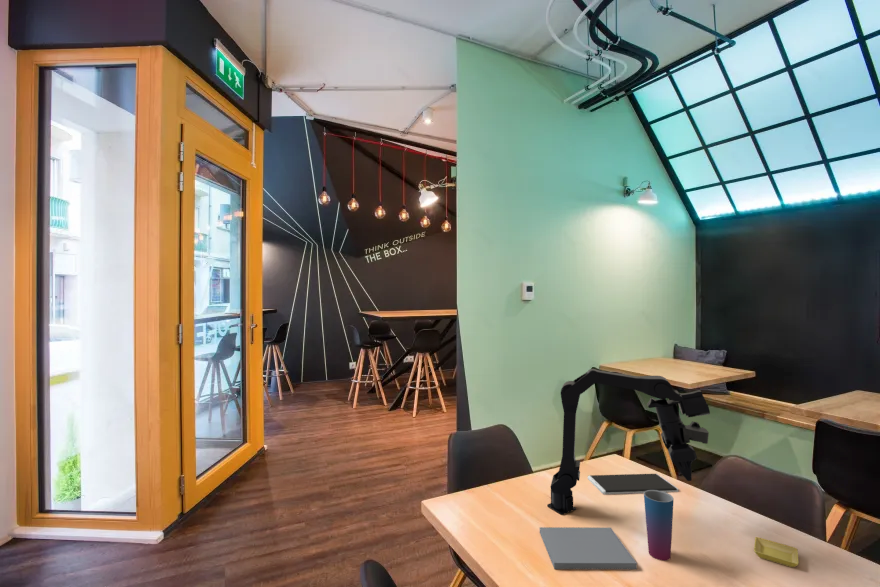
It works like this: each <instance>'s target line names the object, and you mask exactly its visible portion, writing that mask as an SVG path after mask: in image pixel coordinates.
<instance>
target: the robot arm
mask: <svg viewBox="0 0 880 587" xmlns="http://www.w3.org/2000/svg"><path fill="white" fill-rule="evenodd" d="M595 384H597V385H598V384H599V385H605V386H610V387H617V388H622V389H627V390H632V391H638V392H641V393H643V394H645V395H648V396H649V397H650V398H649V400H648V402H647V403H646V406H647V407H648V408H649V409H652V408H654V409H655V411H656V416H657V419H658V421H659V422H658V423H659V426H660V428H661V434H660V438H661V440H662V442H663V445H664V447H665V448H666V450H667V451H668V455H669V457H670V459H671V462H672V463H673V464H674V466H676V468H677V469H678V471H679V472H680V473H681V475H682V476H683V477H684V478H685V480H686V481H687V482H690V481H692V478H693V477H692V463H693V462H694V461H696V459H698V457H697V453H696V450H695V449H694V447H693V446H691V445H690V444H689V443H691V441H693V442H699V443H702V444H705V445H708V444H709V435H710V434H709V433H710V432H709V431H708V429H706V428H705V427H701V425H700V423H699V422H697V421H691V422H690V423H689V424H687V425H686V424H684V423H683V420H682V418H681V415H685V417H687V418H693V417H700V416H708V415H710V414H711V412H710V408H709V405H708V403H707V401H706V399H705V397H704V395H703V392H702V391H701V390H700V389H698V390H694V391H690V392H684V393H680V392H679V391H678V390H677V389H675V388H673V386H672V384H671V383H670V382H669V380H667V378H666V377H664V376H662V375H642V376H641V375H640V376H639V375H630V374H625V373H618V372H612V371H605V370H599V369H596V368H590V369H588V370H587V371H586V372H585V373H583V374H582V375H580V376H578V377H577V378H575V379H574V380H568V381H566V382H564V383H563V384H562V387H561V389H560V398H561V399H560V400H561V405H562V409H563V428H562V455H561V456H562V457H561V460H560V464H559V469H558V471H557V472H556V473H555V474H554V475H553V476H552V479H551V483H550V503H548V504H546V505H547V507H548V508H550V509H551V510H553V511H555V512H556V513H557V514H560V515H561V516H562V515H565V514H568V513H572V512H573V511H574V512H575V511H576V510H577V507H576V506H574V495H573V490H572V489H573V488H574V487H576V486H577V481H579V482H580V477H581V476H580V475H581V471H580V468H581V467H580V466H581V460H577V459H576V453H575V452H576V429H577V428H576V425H577V410H578V405H579V401H580V396H581V395H582V394H584V393H585V392H587V390H589V389H590V388H591V387H593V385H595ZM655 398H656V399H655ZM667 399H669V400H667ZM677 404H678V405H677ZM678 408H679V409H678ZM679 410H680V411H679ZM680 413H681V414H680Z"/></svg>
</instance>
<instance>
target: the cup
mask: <svg viewBox="0 0 880 587" xmlns="http://www.w3.org/2000/svg"><path fill="white" fill-rule="evenodd" d="M643 498H644V500H643V502H644V512H645V513H644V514H645V522H646V523H645V524H646V534H647V535H646V537H647V546H648V548H647V550H648V554H649V555H650V556H651V557H652V558H654V559H655V560H659V561H670V560H671V556H672V540H673V539H672V538H673V519H674V518H673V516H674V496H673V495H671V494H670V493H669V492H663V491H658V490H647V491H645V492H644V493H643Z"/></svg>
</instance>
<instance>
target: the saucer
mask: <svg viewBox="0 0 880 587" xmlns="http://www.w3.org/2000/svg"><path fill="white" fill-rule="evenodd" d="M753 551H754V553H755V555H756V556H757V557H759V558H760V559H763V560H766V561H769V562H773V563H775V564H776V563H777V564H779V565H783V566H787V567H790V568H795V567H797V566H798V565H799V564H800V563H799V553H798V552H799V551H798V548H796V547H794V546H790V545H786V544H784V543H780V542H776V541H773V540H769V539H766V538H762V537H758V536H756V537H754V547H753Z"/></svg>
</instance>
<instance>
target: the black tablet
mask: <svg viewBox="0 0 880 587" xmlns="http://www.w3.org/2000/svg"><path fill="white" fill-rule="evenodd" d="M587 480H588V481H589V482H590V483H591V484H592V485H593V486H594V487H595V488H596V489H597V490H598V491H599V492H600V493H601V494H602V495H604V496H605V495H606V496H607V495H610V496H611V495H629V494H631V495H632V494H644V492H645V491H647V490H658V491H663V492H666V493H678V492H679V491H680V489H679V488H678V487H677V486H676V485H675V484H672V483H671V482H670V481H669V480H667V479H665V478H664V477H663V476H661V475H660V474H658V473H633V474H632V473H630V474H629V473H628V474H627V473H626V474H595V475H594V474H593V475H592V474H590V475H588V476H587Z"/></svg>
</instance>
